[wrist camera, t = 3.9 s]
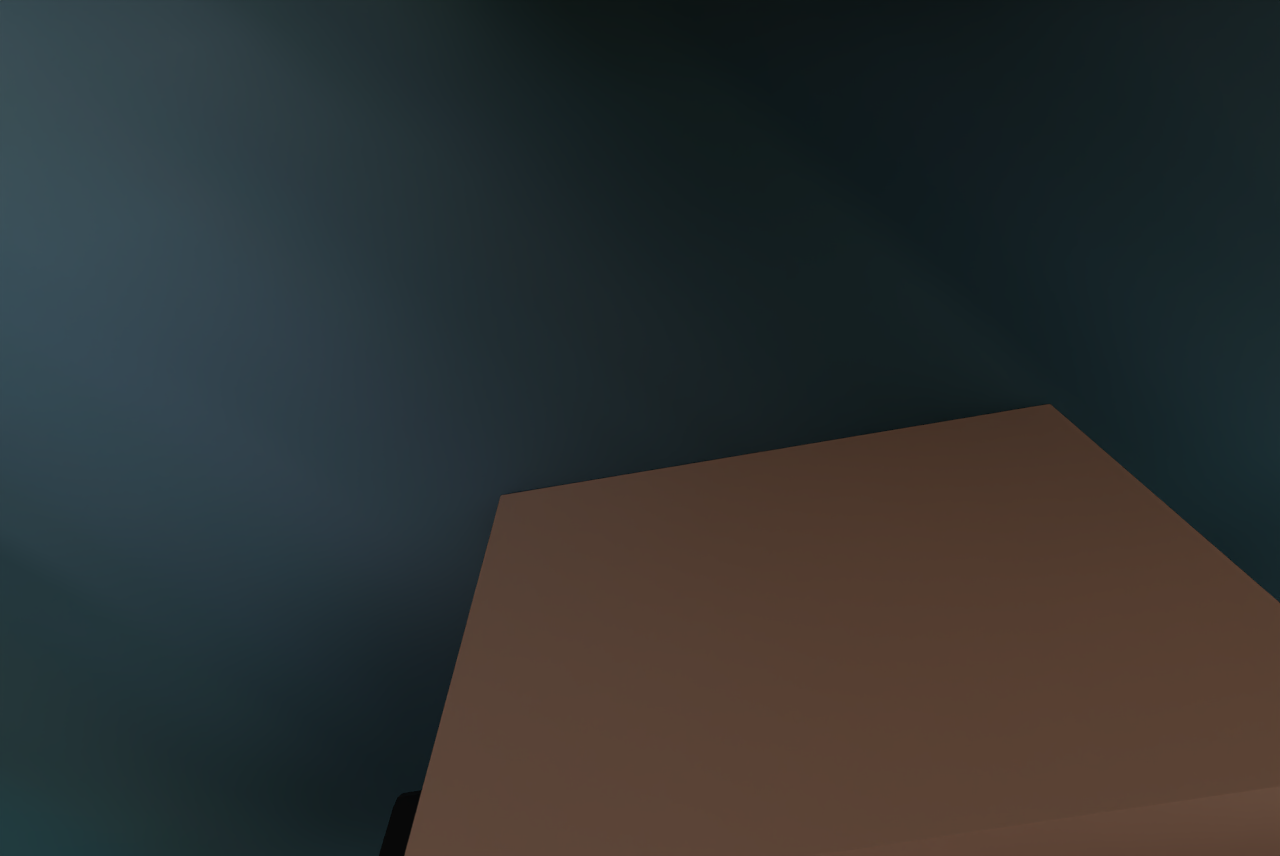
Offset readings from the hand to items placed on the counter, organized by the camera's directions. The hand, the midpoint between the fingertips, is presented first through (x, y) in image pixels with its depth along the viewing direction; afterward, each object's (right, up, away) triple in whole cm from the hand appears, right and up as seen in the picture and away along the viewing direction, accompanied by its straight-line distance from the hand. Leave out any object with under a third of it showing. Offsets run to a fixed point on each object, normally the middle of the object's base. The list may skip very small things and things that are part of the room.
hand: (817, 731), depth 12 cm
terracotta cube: (0, 0, +1) cm, 1 cm away
